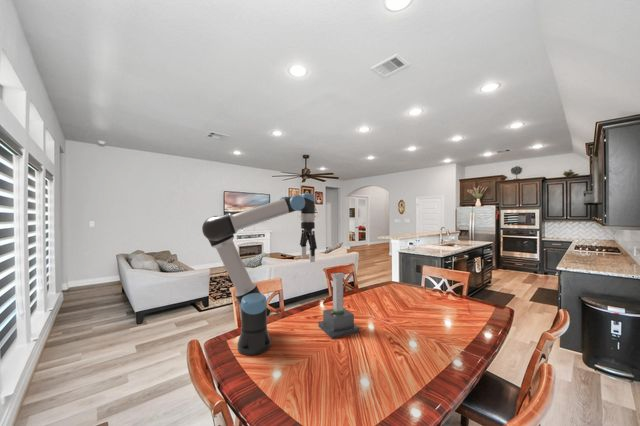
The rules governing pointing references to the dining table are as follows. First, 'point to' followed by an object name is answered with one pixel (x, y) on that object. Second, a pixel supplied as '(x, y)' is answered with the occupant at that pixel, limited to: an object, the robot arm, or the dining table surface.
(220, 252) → the robot arm
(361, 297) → the dining table surface
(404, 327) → the dining table surface
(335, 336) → the stand base
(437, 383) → the dining table surface
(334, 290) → the column
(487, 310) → the dining table surface
